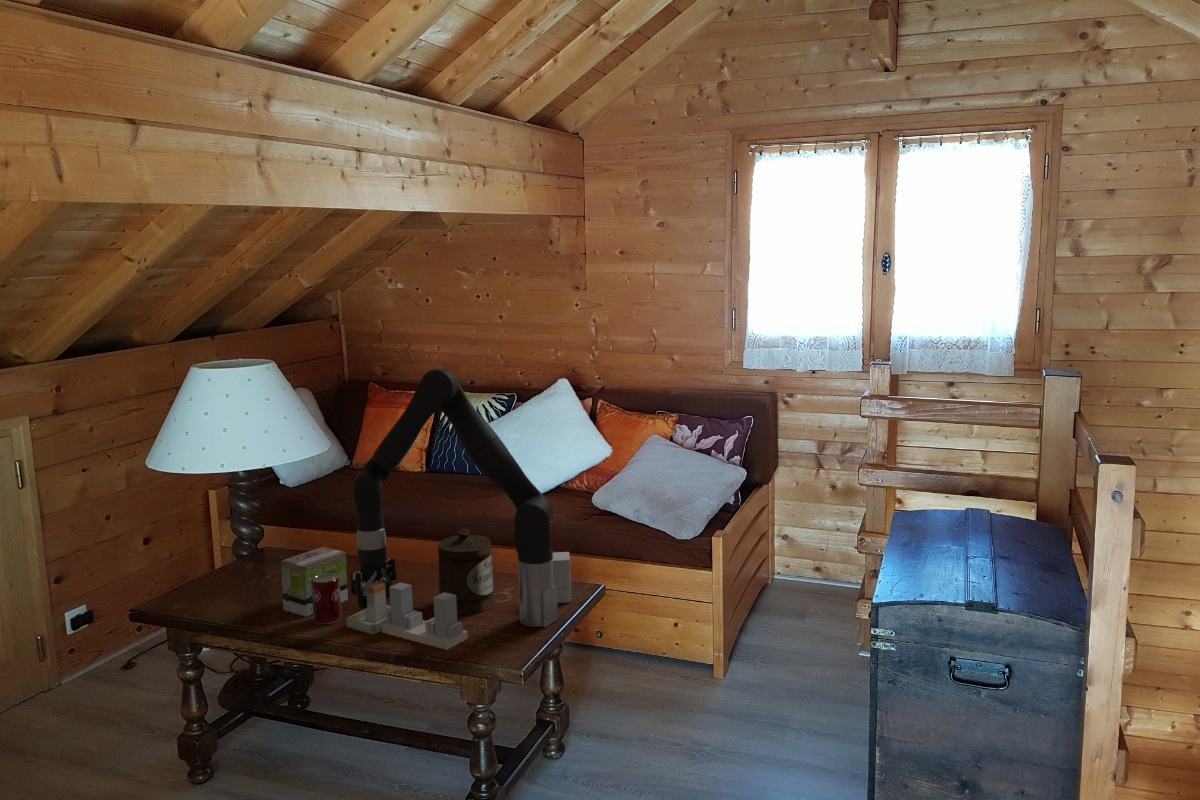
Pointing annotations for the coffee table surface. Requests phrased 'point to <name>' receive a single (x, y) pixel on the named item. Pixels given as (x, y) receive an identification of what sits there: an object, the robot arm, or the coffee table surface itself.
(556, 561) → the supplement box
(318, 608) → the soda can
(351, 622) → the tray
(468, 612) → the wooden container
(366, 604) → the robot arm
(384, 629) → the block
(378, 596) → the block
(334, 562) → the tea box
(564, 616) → the coffee table surface
